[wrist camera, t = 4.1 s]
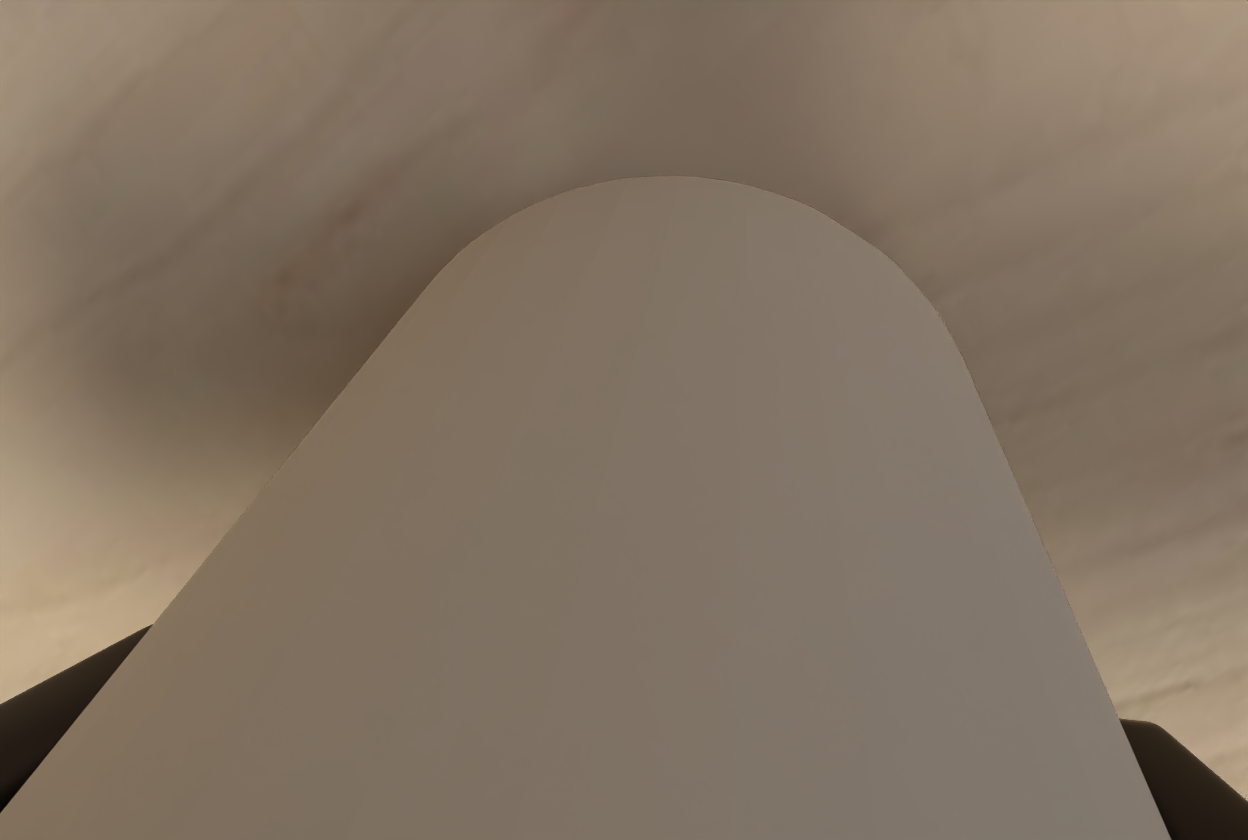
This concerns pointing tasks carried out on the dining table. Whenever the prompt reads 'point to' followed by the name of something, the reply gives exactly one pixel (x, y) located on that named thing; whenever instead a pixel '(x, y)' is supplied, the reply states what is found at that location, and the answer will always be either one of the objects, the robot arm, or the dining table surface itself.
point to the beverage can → (623, 573)
